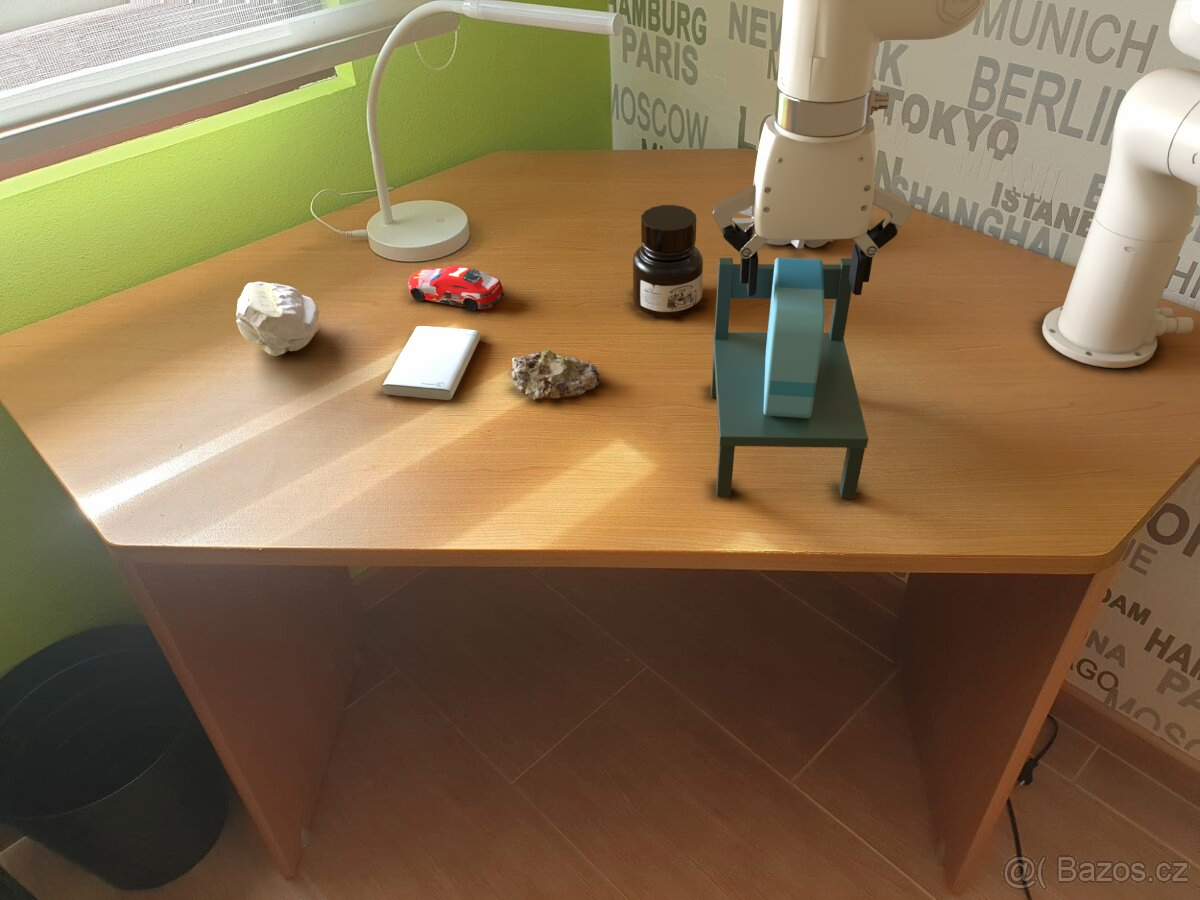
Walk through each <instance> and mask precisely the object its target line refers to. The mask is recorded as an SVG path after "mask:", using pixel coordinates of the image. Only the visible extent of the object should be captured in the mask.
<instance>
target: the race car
mask: <svg viewBox="0 0 1200 900" xmlns="http://www.w3.org/2000/svg"><path fill="white" fill-rule="evenodd" d="M407 286H408V292H409V295H410V296H411V297H412V298H413V299H414V300H416V302H417V301H418V302H423V301H424V300H425V301H429V302H435V303H440V304H446V305H451V306H456V307H462V308H464V307H465V308H466V309H467V310H468V311H470V312H475V311H476V310H485V309H490V308H492V307H494V306H496V305H497V303H498V302H499V301H500V300H501V299H502V297H503V296H504V295H505V293H504V286H503V284H502V282H501V280H500V279H499V278H498V277H497V276H495V275H492V274H489V273H487V272H484V271H482V270H478V269H476V268H473V267H467V266H463V265H462V266H461V265H452V264H450V265H449V266H447V267H444V268H441V267H440V268H439V267H438V268H436V267H431V268H430V267H429V268H424V269H421V270H418V271H416V272H414V273H412V274H411V275H410V277H409V278H408V282H407Z"/></svg>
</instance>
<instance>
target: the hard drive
mask: <svg viewBox="0 0 1200 900" xmlns="http://www.w3.org/2000/svg"><path fill="white" fill-rule="evenodd" d="M480 335H481V334H480V331H479V330H477V329H467V328H455V327H454V328H453V327H441V326H428V325H427V326H425V325H418V326H416V327H415V329H414V330H413V332H412V334H411V336H410V337H409V339H408V341H407V342H406V344H405V346H404V348H403V349H402V351H401V353H400V354H399V356H398V358H397V360H396V361H395V363H394V365H393V367H392V368H391V370H390V372H389V373H388V375H387V377H386V378H385V380H384V382H383V384H382V389H383V393H384V394H386V395H390V396H401V397H411V398H420V399H421V398H422V399H433V400H443V401H444V400H445V401H450V400H452V399H453V397H454V394H455V392H456V390H457V388H458V387H459V384H460V382H461V380H462V378H463V376H464V374H465V372H466V369H467V368H468V364H469V363H470V361H471V359H472V357H473V355H474V352H475V350H476V348H477V346H478V344H479V342H480V340H481V336H480Z"/></svg>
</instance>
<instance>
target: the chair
mask: <svg viewBox="0 0 1200 900" xmlns="http://www.w3.org/2000/svg"><path fill="white" fill-rule="evenodd" d="M851 258H852V257H851ZM851 258H850V257H849V258H847V257H845V258H844V257H843V258H840V261H839V264H826V263H825V264H824V263H823V281H824V300H833V303H832V310H831V316H830V317H831V318H830V323H829V331H828V332H824V334H823V341H822V348H821V355H820V361H819V368H818V375H817V382H816V388H815V395H814V402H813V409H812V414H811V417H810V418H795V417H781V416H767V415H764V386H765V359H766V344H767V334H768V331H765V332H764V331H762V332H760V331H759V332H758V331H757V332H756V331H754V332H753V331H752V332H751V331H729V329H730V316H731V302H732V300H735V299H737V300H739V299H741V300H742V299H743V300H744V299H746V300H747V299H748V300H749V299H750V300H752V299H753V300H755V299H756V300H758V299H759V300H761V299H762V300H771V295H772V285H773V276H774V266H775V263H758V273H757V287H756V295H754V296H748V291H747V284H740V263H734V259H733V257H719V258H718V267H717V284H716V286H717V287H716V301H715V319H714V331H713V334H712V344H713V345H712V347H713V348H712V349H713V351H712V365H711V367H712V368H711V381H710V382H711V384H710V385H711V386H710V397H711V398H716V412H717V426H718V427H717V428H718V458H717V469H716V470H717V471H716V484H715V489H716V497H723V498H724V497H725V498H727V497H731V496H732V485H733V473H734V462H735V461H734V460H735V450H736V447H772V448H773V447H774V448H775V447H777V448H778V447H779V448H831V449H832V448H833V449H835V448H836V449H837V448H838V449H839V448H840V449H841V448H842V449H846V452H845V456H844V461H843V468H842V472H841V478H840V483H839V488H838V490H839V495H840V499H842V500H843V499H844V500H845V499H847V500H849V499H850V500H855V499H856V496H857V489H858V485H859V480H860V475H861V469H862V465H863V461H864V455H865V451H866V449H867V447H868V442H869V435H868V433H867V428H866V423H865V419H864V415H863V411H862V408H861V403H860V400H859V395H858V390H857V388H856V384H855V383H856V382H855V378H854V374H853V371H852V366H851V363H850V358H849V354H848V351H847V346H846V342H845V339H844V338H845V333H846V327H847V322H848V315H849V309H850V303H851V297H852V289H851V285H850V282H849V272H850V265H851Z"/></svg>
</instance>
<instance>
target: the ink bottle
mask: <svg viewBox="0 0 1200 900" xmlns="http://www.w3.org/2000/svg"><path fill="white" fill-rule="evenodd" d="M640 218H641V219H640V223H641V226H640V227H641V228H640V229H641V230H640V236H641V237H640V238H641V242H640V243H641V245H640V246H639V247H638V248H637V249H636V250H635V251H634V254H633V257H632V300H633V303H634V305H635V306H636V307H637V309H638V310H640V311H641V312H642V313H644V314H646V315H648V316H652V317H655V318H664V319H665V318H676V317H682V316H685V315H688V314H690V313H692V312H694V311H695V310H697V309H698V308H699V306H700V305H701V302H702V296H703V281H704V280H703V278H704V269H703V268H704V259H703V254H702V253H701V251H700V250H699V248H697V247H696V240H697V214H696V213H695V212H694V211H693V210H692V209H689V208H687V207H684V206H683V205H675V204H661V205H656V206H652V207H650V208H649V209H646V210H644V212H642V214H641V216H640Z"/></svg>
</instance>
